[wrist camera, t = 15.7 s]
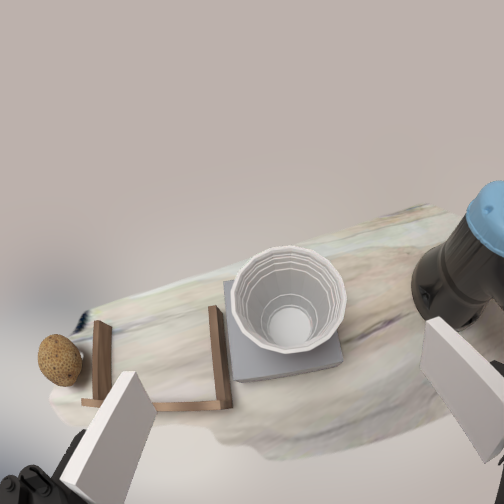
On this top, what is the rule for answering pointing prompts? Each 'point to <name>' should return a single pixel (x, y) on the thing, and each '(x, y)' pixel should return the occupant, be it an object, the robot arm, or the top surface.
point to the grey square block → (274, 353)
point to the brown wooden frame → (223, 395)
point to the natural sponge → (59, 360)
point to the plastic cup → (288, 299)
